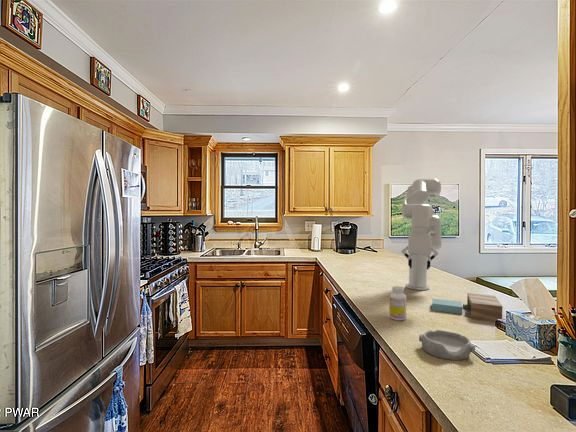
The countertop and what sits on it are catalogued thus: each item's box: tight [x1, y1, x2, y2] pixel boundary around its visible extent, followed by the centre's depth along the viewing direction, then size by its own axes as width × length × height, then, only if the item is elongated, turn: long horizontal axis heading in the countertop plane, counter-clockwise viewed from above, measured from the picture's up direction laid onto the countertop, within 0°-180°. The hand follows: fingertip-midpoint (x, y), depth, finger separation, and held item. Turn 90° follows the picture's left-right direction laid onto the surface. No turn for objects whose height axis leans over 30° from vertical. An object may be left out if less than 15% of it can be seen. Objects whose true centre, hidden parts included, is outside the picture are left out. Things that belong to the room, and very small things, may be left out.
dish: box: [418, 329, 476, 361], centre depth 104 cm, size 14×14×5 cm
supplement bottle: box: [389, 285, 407, 321], centre depth 135 cm, size 7×7×13 cm
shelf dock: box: [462, 292, 503, 322], centre depth 142 cm, size 18×13×6 cm
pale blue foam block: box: [431, 298, 463, 315], centre depth 148 cm, size 9×12×3 cm
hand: (419, 268), depth 153 cm, fingers open, 6 cm apart
